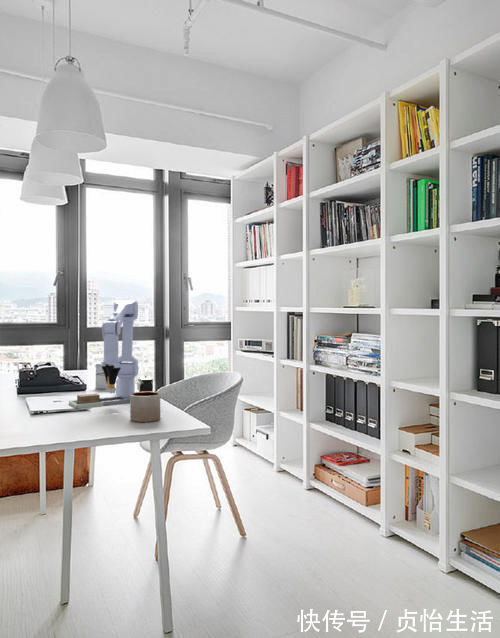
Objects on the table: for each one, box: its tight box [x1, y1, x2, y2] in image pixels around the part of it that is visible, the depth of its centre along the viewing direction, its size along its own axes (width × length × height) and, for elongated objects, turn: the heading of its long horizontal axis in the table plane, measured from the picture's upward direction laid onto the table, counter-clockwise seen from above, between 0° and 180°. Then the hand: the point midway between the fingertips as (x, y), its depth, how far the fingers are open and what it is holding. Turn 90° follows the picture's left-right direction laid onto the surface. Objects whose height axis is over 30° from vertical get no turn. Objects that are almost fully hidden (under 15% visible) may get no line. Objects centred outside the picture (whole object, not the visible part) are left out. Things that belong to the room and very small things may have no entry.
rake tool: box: [106, 378, 116, 394], centre depth 204 cm, size 4×3×6 cm, turn 36°
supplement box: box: [94, 362, 107, 390], centre depth 253 cm, size 7×7×13 cm
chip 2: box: [86, 393, 101, 403], centre depth 208 cm, size 4×4×4 cm
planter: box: [129, 391, 161, 424], centre depth 184 cm, size 11×11×10 cm
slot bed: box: [100, 395, 131, 407], centre depth 213 cm, size 10×12×2 cm
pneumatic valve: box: [136, 375, 154, 392], centre depth 214 cm, size 6×12×12 cm, turn 20°
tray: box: [68, 399, 103, 409], centre depth 206 cm, size 10×11×2 cm
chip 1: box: [76, 393, 90, 404], centre depth 206 cm, size 4×4×4 cm
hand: (110, 383), depth 204 cm, fingers closed on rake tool, 3 cm apart
